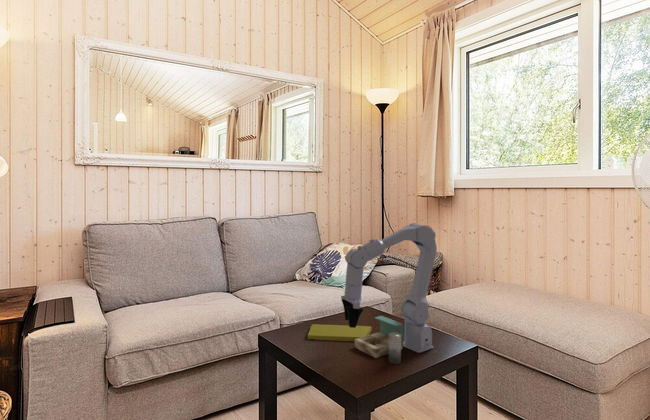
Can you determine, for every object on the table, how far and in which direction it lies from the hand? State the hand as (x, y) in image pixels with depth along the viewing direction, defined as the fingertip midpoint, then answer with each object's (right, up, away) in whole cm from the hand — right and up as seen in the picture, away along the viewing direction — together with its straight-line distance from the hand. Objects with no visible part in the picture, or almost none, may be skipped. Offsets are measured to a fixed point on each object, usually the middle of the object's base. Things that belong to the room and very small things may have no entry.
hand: (350, 323), depth 137 cm
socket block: (+10, -10, +5) cm, 15 cm away
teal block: (+14, -7, +8) cm, 18 cm away
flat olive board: (-3, -10, +18) cm, 21 cm away
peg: (+14, -11, -6) cm, 19 cm away
